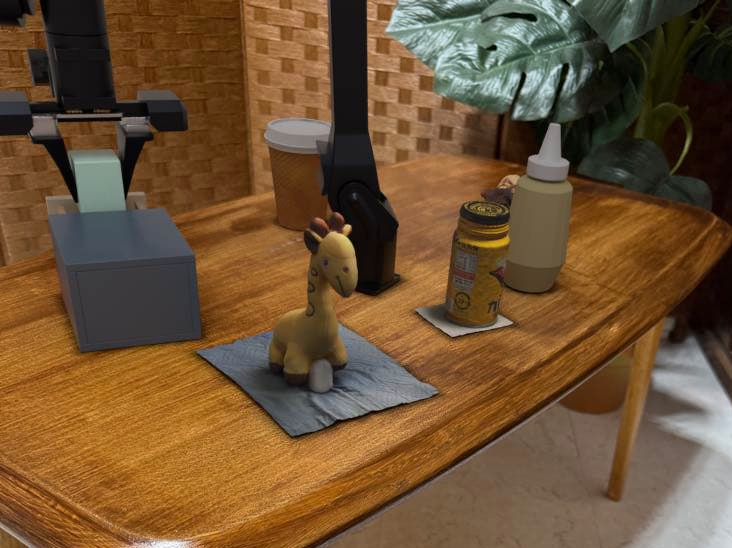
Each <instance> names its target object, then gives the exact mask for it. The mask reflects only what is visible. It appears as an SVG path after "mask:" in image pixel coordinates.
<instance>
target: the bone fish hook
mask: <svg viewBox="0 0 732 548" xmlns="http://www.w3.org/2000/svg"><path fill="white" fill-rule="evenodd" d="M520 177H521V176H520V175H518V174H508V175H506V176H504V177H503V178H502V179H501V181H500V182H499V184H498V185H497V187H496V188H492V189H491V188H486V189H482V190H481V191H480V196H481V197H482V198H484V201H487V202H494V203H498V204H501V205H503V206H505V207H506V208H507V209H508V210H510V206H511V202H512V198H513V194H514V190H515V186H516V182H517V179H519V178H520Z"/></svg>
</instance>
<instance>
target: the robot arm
mask: <svg viewBox="0 0 732 548" xmlns="http://www.w3.org/2000/svg"><path fill="white" fill-rule="evenodd" d="M326 1H327V3H326V4H327V29H328V32H327V33H328V54H329V55H328V57H329V59H328V60H329V61H328V62H329V86H330V89H329V90H330V109H331V110H330V112H331V113H330V114H331V115H330V116H331V117H330V118H331V122H330V124H331V128H330V133H329V138H328V142H327V141H321V140H316V146H317V151H318V156H319V170H318V173H317V180H318V184H319V188H320V191H321V195H322V196H325V195H326V196H327V199H328V206H329V208H330V211H331V212H332V214H333V213H334V212H337V213H339V214H340V215H342V217H343V218H344V224H346V225H351V226H352V232H351V233H350V234H349V236H348V237H347V238H348V239H349V240H350V242H351V243H352V245H353V247H354V250H355V257H356V262H357V270H358V279H357V285H356V288H355V290H354V291H359V292H363V293H365V294H369V295H373V296H374V295H378V294H380V293H381V292H383V291H384V290H385V289H387V288H389V287H391V286H392V285H393V284H395V283H397V282H399V281H400V280H401V274H400V273H396V272H395V271H396V259H397V258H396V257H397V256H396V255H397V244H398V243H397V242H398V229H399V227H400V223H399V221H398V219H397V216H396V214H395V211H394V209H393V207H392V205H391V202H390V200H389V198H388V197H387V195H385V193H383V191H382V190H381V186H380V181H379V175H378V169H377V163H376V159H375V154H374V150H373V145H372V140H371V136H370V130H369V72H368V71H369V69H368V67H369V64H368V63H369V62H368V60H369V59H368V57H369V56H368V0H326ZM38 2H39V7H40V13H41V20H42V26H43V32H44V37H45V44H46V48H26V56H27V62H28V68H29V73H30V79H31V84H32V86H33V87H49V88H50V94H51V97H52V98H54V100H51V101H50V100H49V101H47V100H46V101H45V100H44V101H43V100H42V101H39V100H38V101H37V100H35V101H34V100H33V101H29V98H28V97H27V94H26V92H25V91H24V90H0V137H6V136H7V137H10V136H11V137H13V136H14V137H15V136H28V137H29V140H30V141H31V143H32V144H33V145H41V146H43V147H44V149H45V150H46V151H47V153H48V155H49V156H50V157H51V159H52V160H53V162H54V164H55V165H56V167H57V168H58V171H59V173H60V175H61V177H62V178H63V180H64V183H65V185H66V187H67V189H68V191H69V194H70V195H71V196H72V198H73V200H74V202H75V203H79V202H78V193H77V187H76V183H75V180H74V176H73V172H72V169H71V165H70V161H69V155H68V150H67V148H66V144H65V140H64V137H63V135H62V133H61V130H60V129H59V123H99V122H100V123H101V122H102V123H104V122H105V123H106V122H114V123H115V132H116V139H117V157H118V159H119V161H120V164H121V172H122V181H123V189H124V197H125V200H126V199H127V195H128V192H130V188H131V184H132V180H133V176H134V172H135V168H136V167H137V166H136V165H137V162H138V161H139V158H140V156H141V153H142V151H143V148H144V146H145V144H146V142H153V141H154V140H155V135H154V133H153V132H152V131H151V126H152V127H153V128H154V129H155V130H156V131H157V132H158V133H168V132H169V133H172V132H177V133H178V132H188V131H189V120H188V119H189V118H188V111H187V106H186V104H185V103H184V102H183V101H182V100H181V99H180V98H179V97H178V96H177V95H176V94H175V93H174V92H173V91H172V90H171V89H138V90H137V95H136V99H135V100H127V99H125V100H117V96H116V87H115V78H114V71H113V61H112V54H111V47H110V45H111V44H110V39H109V32H108V23H107V15H106V5H105V0H38ZM36 3H37V2H36V0H0V27H3V28H4V27H7V28H19V29H21V28H22V29H24V28H25V27H26V24H27V16H29V17H30V16H31V17H35V16H36V12H37V11H36V10H37V5H36Z"/></svg>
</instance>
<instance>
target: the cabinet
mask: <svg viewBox="0 0 732 548" xmlns="http://www.w3.org/2000/svg"><path fill="white" fill-rule="evenodd" d="M47 220H48V227H49V232H50V237H51V242H52V248H53V254H54V259H55V264H56V270H57V271H56V272H57V275H58V281H59V287H60V291H61V297H62V300H63V303H64V306H65V309H66V312H67V315H68V318H69V321H70V324H71V327H72V329H73V333H74V336H75V339H76V342H77V346H78V347H79V351H80V353H88V352H89V353H90V352H97V351H104V350H114V349H122V348H123V349H124V348H132V347H140V346H149V345H150V346H151V345H158V344H166V343H175V342H183V341H185V342H186V341H192V340H200V339H202V325H201V311H200V310H201V309H200V297H199V285H198V272H197V271H198V270H197V260H196V254H195V252H194V250H193V249H192V248H191V246H190V244H189V243H188V241H187V240H186V239H185V237H184V235H183V234H182V232H181V230H179V228H178V226H177V225H176V223H175V222H174V221H173V219H172V218H171V216H170V214H169V213H168V211H167V210H166V208H165V207H158V208H157V207H155V208H147V209H138V210H120V211H102V212H85V213H67V214H49V215H48V214H47Z"/></svg>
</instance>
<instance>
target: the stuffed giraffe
mask: <svg viewBox="0 0 732 548" xmlns="http://www.w3.org/2000/svg"><path fill="white" fill-rule="evenodd" d="M344 222H345V221H344V218H343V217H342V215H340V214H339V213H337V212H334V213H333V212H332V214H331V215H330V216H329V219H328V224H327V223H326V220H325V221H324V220H322V219H320V218H314V219H313V220H311V222H310V228H309V229H305V230H303V242H304V244H305V247H306V249H307V250H308V251H309V252H310V253H311V254H310V258H309V259H310V260H309V266H308V270H307V275H306V279H307V288H306V297H307V298H306V299H307V304H306V307H302V308H298V309H297V308H296V309H293V310H290V311H288V312H286V313H284V314H283V315H282V316H281V317H280V318H279V319H278V320H277V322H276V324H275V326H274V328H273V331H266V332H262V333H259V334H256V335H254V336H250V337H249V336H248V337H244V338H239V339H237V340H235V341H234V342H233V343H227V344H219V345H217V346H214V347H210V348H205V349H199V350H195V353H197V354H198V355H199V356H201V357H202V358H204V359H205V360H207V361H208V362H210V363H211V364H212V365H213V366H214V367H216V368H217V369H218V370H220V371H221V372H222V373H224V374H225V375H226V376H227V377H229V378H230V379H231V380H233V381H234V382H235V383H236V384H238V386H240V387H241V388H242V389H243V390H244V391H245V392H246V393H247V394H249V396H250V397H252V399H253V400H254V401H255V402H257V403H258V404H259V405H260V406H262V408H263V409H264V410H265V412H267V413H268V414H269V415H270V416H271V417H272V418H273V420H274V421H275V422H277V424H278V425H280V427H281V428H282V429H283V430H284V431H285V432H286V433H287V434H288V435H289V436H291V437H294V436H300V435H302V434H306V433H311V432H313V433H314V432H317V431H318V430H322V429H324V428H326V427H329V426H331V425H333V424H334V423H335V422H336V421H337V420H348V419H350V418H351V419H352V418H355V417H358V416H363V415H365V414H368V413H369V412H371V411H380V410H381V411H382V410H384V409H387V408H390V407H391V408H392V407H395V406H398V405H400V404H406V403H407V404H411V403H413V402H416V401H420V400H424V399H428V398H431V397H433V395H436V394H438V393H439V390H438V389H437V388H436V387H434V386H433V385H431V384H430V383H426V382H422V381H421V380H419V379H417V378H416V377H415V376H413V374H411V373H409V372H408V371H407V370H406V368H405V367H403V366H402V365H401V364H400V363H399V362H398V361H396V360H395V359H394V358H392V357H390V355H387V354H386V353H385V352H383V351H381V349H379V348H377V346H376V345H374V344H373V343H372V342H369V340H367V339H365V338H364V337H363V336H361V335H359V334H358V333H356V332H354V331H352V330H350V329H349V328H348V327H345V326H343V324H341V323H340V322H339V321H338V318H337V315H336V312H335V311H336V307H335V304H334V301H333V297H332V293H331V288H332V289H333V291H334V292H335V293H336V294H338V295H339V296H340V297H341V298H343V299H348V298H350V297H351V296H352V295H353V293H354V291H356V290H355V288H356V285H357V279H358V270H357V262H356V257H355V250H354V247H353V245H352V243H351V242H350V240H349V239H348V238H347V237H348V236H349V234H350V233H351V232H352V226H351V225H346V224H344Z"/></svg>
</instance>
